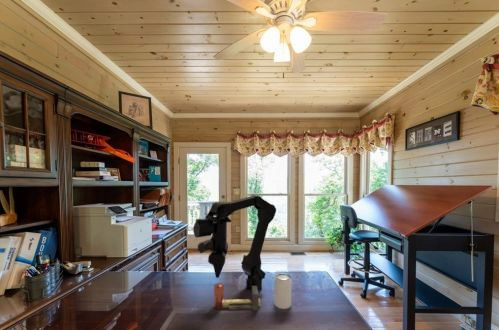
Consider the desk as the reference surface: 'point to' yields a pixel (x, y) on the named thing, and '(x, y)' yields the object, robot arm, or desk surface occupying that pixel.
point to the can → (282, 291)
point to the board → (254, 306)
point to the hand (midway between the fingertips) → (218, 272)
